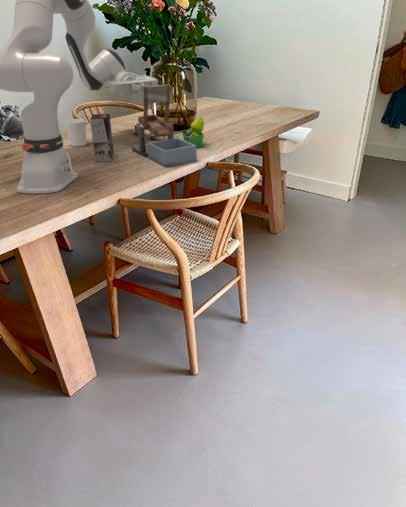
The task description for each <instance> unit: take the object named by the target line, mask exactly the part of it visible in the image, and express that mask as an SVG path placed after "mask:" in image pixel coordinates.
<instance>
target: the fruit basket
mask: <svg viewBox="0 0 406 507" xmlns="http://www.w3.org/2000/svg"><path fill="white" fill-rule="evenodd" d="M204 124H205V121H204V118H202V117H201V116H200V117H197V118H196V120H194V121H193V122H192V123H191V124H190V128H189V129H188V130H187V129H185V130H181V134H182V136H183V137H182V138H183V140H184V141H187V142H189V143H192V144H194V145H196V148H201V147H202V145H203V144H202V143H203V140H204V137H205V135H204V134H203V131H204V128H205V127H204Z"/></svg>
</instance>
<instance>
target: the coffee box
mask: <svg viewBox="0 0 406 507" xmlns="http://www.w3.org/2000/svg"><path fill="white" fill-rule="evenodd" d="M89 119H90V120H89V121H90V130H91V137H92V143H93V151H94V152H93V154H94V160H95V162H96V163H97V162H99V163H100V162H112V161H113V158H114V155H115V150H114V142H113V134H112V126H111V114H110V113H98V114H94V113H93V114H92V116H91V117H90V118H89Z"/></svg>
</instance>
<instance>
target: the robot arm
mask: <svg viewBox="0 0 406 507" xmlns="http://www.w3.org/2000/svg"><path fill="white" fill-rule="evenodd" d="M14 7H15V8H14V18H13V27H12V31H11V34H10V37H9V38H8V40H7V41H6V43H5V44H4V45H3V47H2V48H1V49H0V90H2V91H6V92H11V93H33V102H31V103H29V104H28V105H26V106H25V107H23V109H22V110H21V112H20V122H21V125H22V131H23V136H24V137H23V143H21V148H22V149H21V150H23V151H25V152H24V155H23V159H22V160H23V161H22V165H21V169H20V171H21V174H20V175H21V177H20V180H19V183H18V184H17V187H16V192H17V193H19V194H20V193H22V194H30V195H31V194H49V193H57V192H61V191H62V190H63V189H65V188H66V187H67V186H68V185H70V184H71V183H72V182H73V181H75V180H76V179H77V178H78V177H79V175H78V172H74V170H73V166H72V160H71V157H70V153H69V152H68V151H67V150H66V149H65V148H64V141H63V140H64V139H63V136H62V134H61V133H60V127H59V117H58V110H59V109H58V107H59V103H60V100H61V98H62V97H63V95H64V93H65V92H67V90H69V88H70V87H71V86H72V83H73V80H74V70H73V67H72V65H71V63H70V61H69V60H68V59H67V57H65V56H63V55H58V54H54V53H49V52H47V53H46V52H45V53H42V51H43V50H45V49H47V48H48V47H49V46H50V44H51V43H52V40H53V29H54V28H53V27H54V15H59V14H60V15H61V17H62V18H63V20H64V23H65V28H66V32H65V40H66V44H67V46H68V48H69V52H70V54H71V57H72V59H73V61H74V64H75V66H76V69H77V70H78V71H77V72H78V74H79V78H80V80H81V81H82V82H81V83H82V84H83V85H84V86H85V88H87V89H88V90H90V91H100V90H101V89H102V87H103V86H104V85H105V84H106V85H105V87H106V88H107V89H109V91H110V93H113V94H119V93H120V94H124V95H126V96H132V95H134V94H137V93H140V92H144V87H146V86H156V85H159V80H158V79H157V78H156V77H155V78H154V77H152V76H149V75H147V74H145V73H135V72H130V71H129V72H128V71H126V67H125V63H124V61H123V60H122V59H123V58H121V56H120V55H119V54H118V53H117V52H115V51H114V50H112V49H108V48H104V49H103V50H101V51H100V52H99V53H98V54H97V55H96V56H95V57H94V58H93V59H92V60H90V62H89V61H88V60H87V56H86V55H85V47H86V44H87V41H88V40H89V37H90V36H91V34H92V32H93V30H94V28H95V24H96V16H95V12H94V9H93V7H92V5H91V4H90V2H89V0H15V6H14ZM40 52H41V53H40Z"/></svg>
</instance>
